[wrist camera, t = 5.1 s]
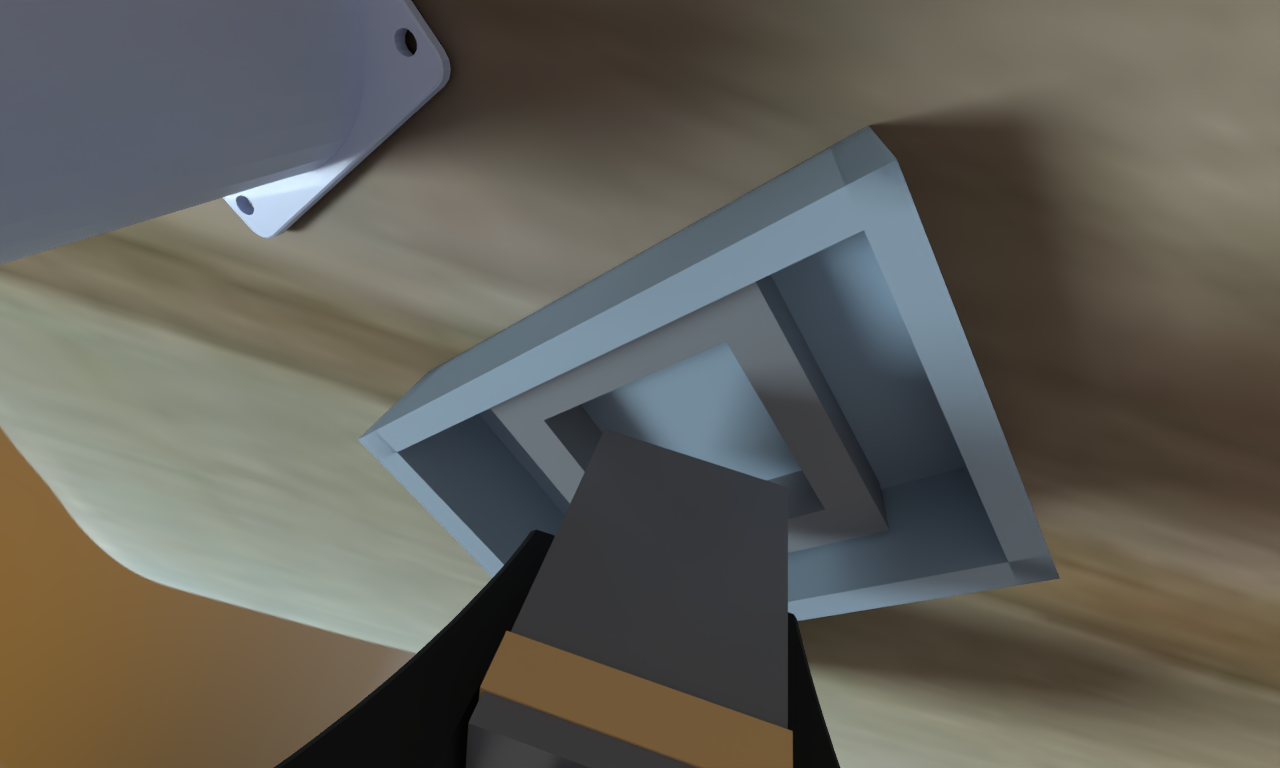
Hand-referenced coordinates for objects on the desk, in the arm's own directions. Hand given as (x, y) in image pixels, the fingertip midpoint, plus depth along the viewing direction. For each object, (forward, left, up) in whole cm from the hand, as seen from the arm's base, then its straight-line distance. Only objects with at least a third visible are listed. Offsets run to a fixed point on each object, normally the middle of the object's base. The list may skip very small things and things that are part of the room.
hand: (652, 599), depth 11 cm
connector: (0, 0, -2) cm, 2 cm away
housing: (0, 0, -6) cm, 6 cm away
